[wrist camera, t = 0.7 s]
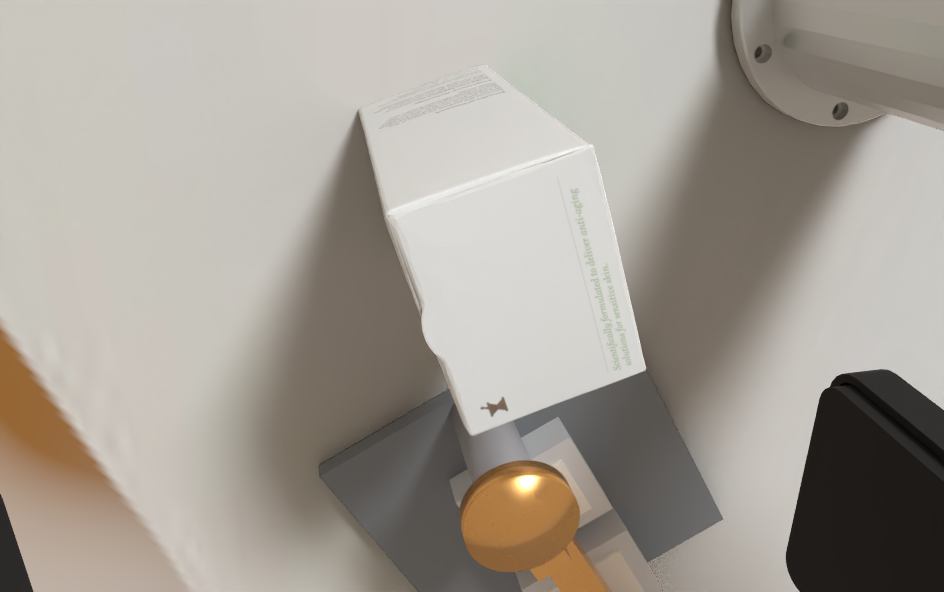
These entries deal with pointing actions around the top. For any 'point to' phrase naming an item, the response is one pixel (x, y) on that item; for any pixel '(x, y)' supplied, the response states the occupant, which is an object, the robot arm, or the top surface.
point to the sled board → (435, 454)
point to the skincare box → (502, 245)
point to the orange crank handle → (528, 525)
